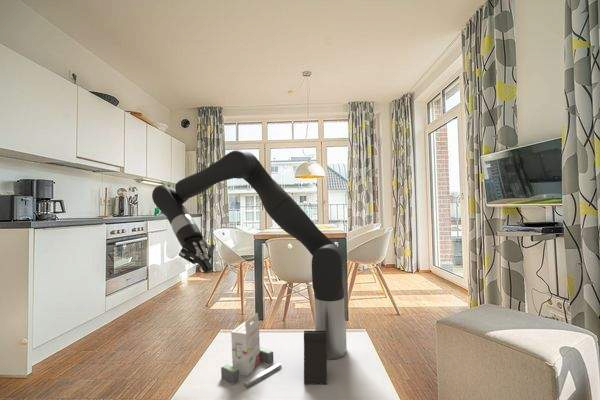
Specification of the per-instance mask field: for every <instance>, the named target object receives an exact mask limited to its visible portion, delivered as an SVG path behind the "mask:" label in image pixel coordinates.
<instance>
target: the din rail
mask: <svg viewBox="0 0 600 400" xmlns="http://www.w3.org/2000/svg"><path fill="white" fill-rule="evenodd" d="M281 369H282V363H280V362H277V363H276V364H274V365H272V366H271V367H268V368H267V369H265V370H263V371H262V372H260V373H258V374H257V375H255V376H253V377H252V378H250V379H248V380H246V381H244V382H243V387H244V388H246V389H248V388H250V387H252V386H253V385H255V384H257V383H258V382H260V381H261V380H263V379H265V378H267V377H268V376H270V375H272V374H273V373H275V372H277V371H278V370H281Z"/></svg>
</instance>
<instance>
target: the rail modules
mask: <svg viewBox="0 0 600 400" xmlns="http://www.w3.org/2000/svg"><path fill="white" fill-rule="evenodd" d="M274 361H275V360H274V351H272V350H269V349H267V348H264V347H261V346H260V362H262V363H264V364H266V365H268V366H269V365H271V364H273V363H274ZM220 372H221V376H220V377H221V379H222V380H224V381H226V382H228V383H229V384H232V385H235V384H238V383H239V382H240V375H239V370H238V369H236V368H234V367H233V365H231V364H230V365H229V364H225V365H223V366H221V367H220Z"/></svg>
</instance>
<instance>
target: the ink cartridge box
mask: <svg viewBox="0 0 600 400" xmlns="http://www.w3.org/2000/svg"><path fill="white" fill-rule="evenodd" d="M259 322H260V321H259V314H258V312H256V313H255V314H253V315H252V316H251V317H249V318H248V319H247V320H246V321H244V322H242V323H241V324H240V325H239V326H237V327H236V328H235V329H233V330H232V331H231V332H230V333H231V335H230V337H231V354H232V355H231V360H232V367H234V368H236V369H238V370H239V376H250V374H251V373H252V372H253V370H254V369H255V368H256V367H257V365H259V364H260V362H261V361H260V348H261V344H260V343H261V342H260V323H259Z"/></svg>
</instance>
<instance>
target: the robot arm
mask: <svg viewBox="0 0 600 400" xmlns="http://www.w3.org/2000/svg"><path fill="white" fill-rule="evenodd" d="M233 179H236V180H237V179H239V180H241V179H243V180H244V181H245V182H246V183H248V184H249V186H250V187H251V188H252V189H254V190H253V191H255V192H256V194H257V195H258V197H259V199H260V201H261V204H262V206H263V208H264V210H265V212H266V213H267V214H268V216H269V217H270V218H271V219H272V220H273V221H274V223H275V224H277V226H278V227H279V228H280V229H282V230H283V231H284V232H286V233H287V234H288V235H290V236H291V237H292V238H295V240H297V241H298V242H299V243H301V244H302V245H303V246H304V247H305V249H307V251H308V252H309V254H310V255H311V282H312V290H313V296H314V297H313V301H314V303H313V305H314V331H326V344H327V360H336V359H340V358H342V357H344V356H345V354H346V351H347V320H346V319H345V316H346V315H345V289H344V285H343V266H344V263H345V255H344V252H343V250H342V249H341V248H340V247H339V246H338V245H337V244H336V243H334V242H333V241H332V240H331V239H330V238H329V237H328V236H327V235H326V234H324V233H323V232H322V231H321V230H320V229H319V227H317V226H316V224H315V223H314V222H313V221H312V219H311V218H310V217H309V215H307V213H306V212H305V211H304V210H303V209H302V207H301V206H300V205H299V204H298V203H297V201H295V200H294V199H293V198H292V196H291V195H290V194H288V193H287V191H285V189H284V188H283V187H282V186H281V185H280V184H279V183H278V182H277V181H276V180H274V179H273V177H272V176H271V175H270V174H269V173H268V171H267V170H266V169H265V167H264V166H263V165H262V163H261V161H259V159H258V158H257V157H256V155H254V154H253V153H252V152H251V151H247V150H238V149H236V150H232V151H229V152H228V153H226V154H225V155H224V156H222V157H221V158H220V159H218V160H217V161H215V162H214V163H212V164H210V165H209V166H207V167H205V168H203V169H202V170H199V171H198V172H195V173H193V174H191V175H189V176H186V177H184V178H182V179H180V180H178V181H177V182H176V183H175V187H174V188H172V187H170V186H167V185H163V184H162V185H157V186H155V188H154V189H153V191H152V194H151V195H152V196H151V197H152V202H153V203H154V205H155V206H156V207H157V209H158V210H159V211H161V213H162V214H163V215H164V216H165V217H166V219H167V221H168V223H169V224H170V226H171V228H172V231H173V233H174V235H175V237H176V238H177V240H178V242H179V244H180V246H181V249H180V251H179V253H178V256H179V257H181V258H182V259H184V260H186V261H187V262H189V263H191V264H193V265H196V264H198V265H199V266H200V268H201V270H202V272H204V273H205V274H208V273H211V271H212V270H213V265H212V263H211V259H212V257H213V254H214V250H215V244H214V243H212V244H208V242H207V241H206V240H205V239H204V237H203V234H202V232H201V230H200V228H199V227H198V225H197V223H196V221H195V219H193V217H192V216H191V214H190V212H189V211H188V209H187V208H186V206H184V203H186V202H187V201H189V199H191V198H193V197H195V196H198V195H200V194H203V193H204V192H206V191H207V190H209V189H211V188H212V187H213V186H215V185H216V184H218V183H221V182H224V181H227V180H228V181H229V180H233Z"/></svg>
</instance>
